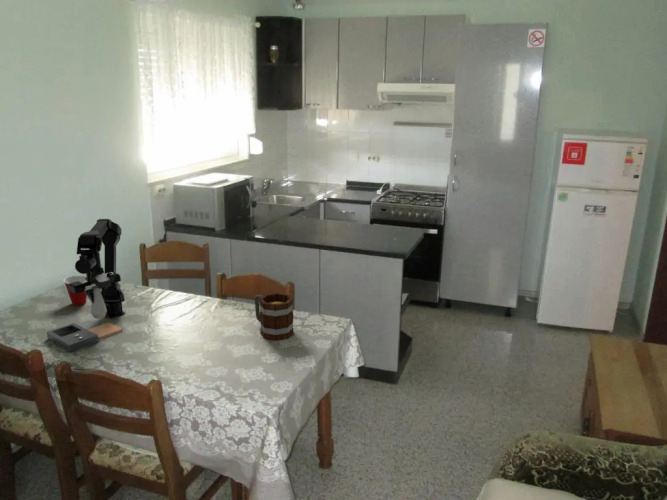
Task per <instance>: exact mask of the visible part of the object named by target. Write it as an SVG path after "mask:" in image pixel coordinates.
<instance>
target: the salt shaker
mask: <svg viewBox="0 0 667 500" xmlns="http://www.w3.org/2000/svg"><path fill="white" fill-rule="evenodd" d="M91 289H93V296H94V303H92V302H91V305H90V306H91V307H90V314H91V315H92V317H93V318H94V319H96V320H97V319H103V318H105V317H106V316H105V315H106V312H107V309H106V306H105V303H104V300H103V297H102V294H101V291H102V288H101V289H99V288H98V287H97V286H96V285H92V286H91Z"/></svg>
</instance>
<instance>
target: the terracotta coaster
mask: <svg viewBox="0 0 667 500" xmlns="http://www.w3.org/2000/svg"><path fill="white" fill-rule="evenodd" d="M123 329H124V328H123V327H119V326H118V325H115V324H113V323H112V322H107V323H104V324H101V325H97V326H94V327H91V328H89V329H87V330H89V331H91V332H92V333H94V334H96V335H98V340H102V339H104V338H108V337H111V336H113V335H116V334H119V333H122V332H123Z"/></svg>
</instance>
